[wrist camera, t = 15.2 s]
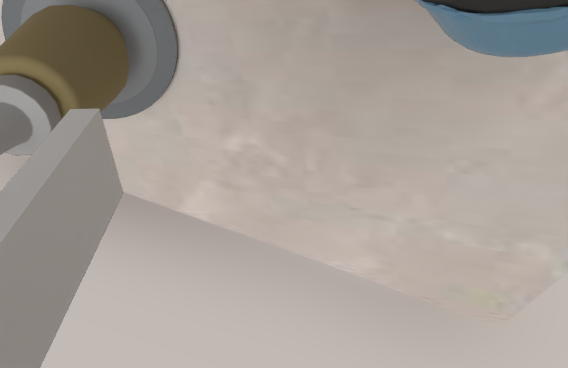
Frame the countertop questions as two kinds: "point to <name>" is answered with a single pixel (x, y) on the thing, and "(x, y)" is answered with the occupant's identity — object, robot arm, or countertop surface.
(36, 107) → the squeeze bottle
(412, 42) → the countertop surface
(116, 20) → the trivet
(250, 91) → the countertop surface
